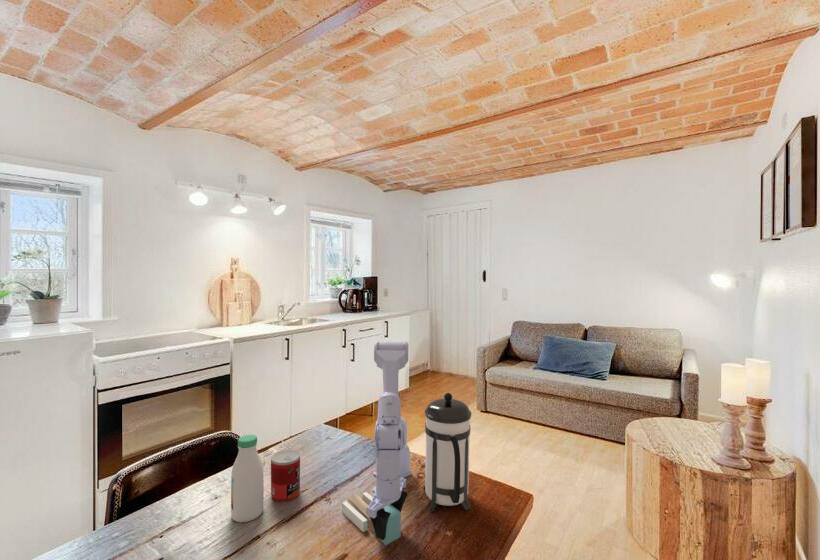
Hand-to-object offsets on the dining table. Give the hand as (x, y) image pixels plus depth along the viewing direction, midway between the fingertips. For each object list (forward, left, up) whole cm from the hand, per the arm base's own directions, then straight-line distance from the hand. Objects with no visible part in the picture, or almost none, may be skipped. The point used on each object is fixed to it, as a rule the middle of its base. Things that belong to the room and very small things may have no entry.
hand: (387, 529), depth 92 cm
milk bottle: (+23, -30, -2) cm, 38 cm away
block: (0, 0, -1) cm, 1 cm away
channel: (0, -10, -1) cm, 10 cm away
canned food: (+12, -32, -2) cm, 34 cm away
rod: (0, -9, -2) cm, 9 cm away
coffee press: (-21, 0, -2) cm, 21 cm away
